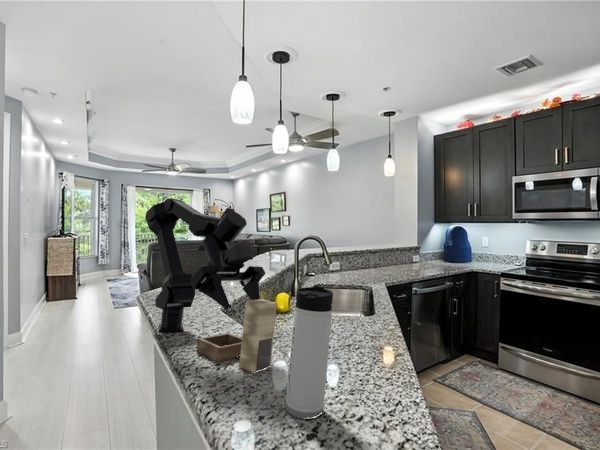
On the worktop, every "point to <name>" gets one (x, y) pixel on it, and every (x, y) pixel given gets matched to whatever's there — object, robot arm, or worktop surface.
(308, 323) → the travel mug
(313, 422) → the worktop surface
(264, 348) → the block
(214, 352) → the post socket
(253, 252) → the robot arm
